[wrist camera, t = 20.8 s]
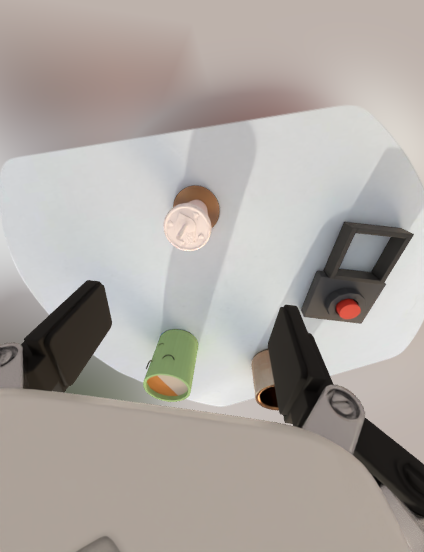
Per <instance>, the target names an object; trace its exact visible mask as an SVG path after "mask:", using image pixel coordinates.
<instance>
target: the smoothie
mask: <svg viewBox="0 0 424 552" xmlns="http://www.w3.org/2000/svg"><path fill="white" fill-rule="evenodd" d="M164 232H165V235H166V237H167V239H168V240H169V242H170V243H171V244H172V245H174V246H175V247H177V248H178V249H181V250H185V251H194V250H197V249H199V248H201V247H202V246H204V245H205V244H206V242H207V241H208V239H209V237H210V234H211V222H210V219H209V217H208V211H207V207H206V205H205V204H204V203H203V202H202V201H200V200H192V201H190V202H188V203H183V204H178V205H177V206H175V207H173V208H172V209H171V210H170V211H169V212H168V214H167V215H166V217H165V220H164Z"/></svg>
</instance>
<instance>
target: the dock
mask: <svg viewBox="0 0 424 552" xmlns="http://www.w3.org/2000/svg"><path fill="white" fill-rule="evenodd" d="M355 233H362V234H371V235H380V236H389V237H391V238H390V240H389V242H388V244H387V246H386V247H385V249H384V251H383V253H382V254H381V256H380V258H379V260H378V261H377V263H376V265H375V267H374V269H373V270H372V272H364V271H355V270H346V269H339V267H340V265H341V263H342V261H343V258H344V256H345V254H346V252H347V250H348V248H349V246H350V243H351V241H352V239H353V237H354V235H355ZM413 235H414V234H412V233H410V232H408V231H406V230H404V229H402V228H395V227H386V226H377V225H368V224H359V223H350V222H344V224H343V226H342V229H341V231H340V233H339V236H338V238H337V240H336V243H335V245H334V247H333V250H332V252H331V254H330V257H329V259H328V262H327V264H326V266H325V269H324V272H325V273H326V274H327V276H328V277H329V278H330V279H338V280H346V281H355V282H364V283H372V284H381V285H383V284H384V282H385V280H386V279H387V277H388V275H389V274H390V272H391V271H392V269H393V267H394V266H395V264H396V263H397V261H398V259H399V258H400V256H401V254H402V253H403V251H404V250H405V248H406V246H407V245H408V243H409V242H410V240H411V238H412V237H413Z"/></svg>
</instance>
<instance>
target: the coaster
mask: <svg viewBox="0 0 424 552" xmlns="http://www.w3.org/2000/svg"><path fill="white" fill-rule="evenodd" d="M192 200H200V201H202V202H203V203H204V204H205V205H206V207H207V211H208V217H209V219H210V222H211V228H212V227H213V226H214V225H215V224H216V222H217V220H218V217H219V203H218V201H217V199H216V197H215V195H214V194H213V193H212V192H211V191H210V190H208V189H207V188H204V187H202V186H189V187H186V188H184V189H183V190H182V191H180V192H179V193H178V195H177V196H176V198H175V200H174V204H173V207H175V206H177V205H178V204H183V203H188V202H190V201H192Z"/></svg>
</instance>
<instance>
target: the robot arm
mask: <svg viewBox="0 0 424 552" xmlns="http://www.w3.org/2000/svg"><path fill="white" fill-rule="evenodd" d="M111 325H112V320H111V315H110V311H109V306H108V302H107V297H106V292H105V288H104V285H102V284H101V283H100V282H99V281H91V280H87V281H86V282H85V283H84V284H83V285H82V286H80V287H79V288H78V289H77V290H76V291H75V292H74V293H73V294H72V295H71V296H70V297H69V298H68V299H66V300H65V301H64V302H63V303H62V304H61V305H60V306H59V307H58V308H57V309H56V310H55V311H53V312H52V313H51V314H50V315H49V316H48V317H47V318H46V319H45V320H44V321H43V322H42V323H41V324H39V325H38V326H37V327H36V328H35V329H34V330H33V331H32V332H31V333H30V334H29V335H28V336H27V337H26V338H24V340H25V341H24V342H23V343H22V344H21V345H20V344H19V343H15V342H13V343H4V344H0V552H424V464H423V463H421V462H420V461H419V460H418V459H417V458H415V457H414V456H413V455H412V454H410V453H409V452H408V451H406V450H405V449H404V448H403V447H401V446H400V445H399V444H398V443H396V442H395V441H394V440H393V439H391V438H390V437H389V436H387V435H386V434H385V433H384V432H382V431H381V430H380V429H379V428H378V427H376V426H375V425H374V424H372V423H371V422H370V421H369V420H368V419H366V418H365V411H364V408H363V406H362V404H361V402H360V401H359V399H358V398H357V397H356V396H355V395H354V394H353V393H352V392H350V391H349V390H347V389H346V388H344V387H342V386H338V385H333V382H332V380H331V378H330V375H329V373H328V370H327V368H326V366H325V363H324V361H323V359H322V356H321V354H320V352H319V349H318V347H317V344H316V342H315V340H314V337H313V336H312V334H310V333H308V332H307V329H306V327H305V324H304V322H303V320H302V317H301V315H300V312H299V310H298V307H297V306H292V305H284V307H281V308H280V310H279V313H278V316H277V318H276V321H275V324H274V327H273V330H272V333H271V336H270V339H269V342H268V351H269V357H270V362H271V368H272V374H273V379H274V385H275V391H276V397H277V402H278V408H279V412H280V414H282V415H283V416H284V421H285V423H291V424H293V426H291V425H286V424H281V423H276V422H270V421H264V420H257V419H251V418H245V417H238V416H232V415H224V414H217V413H210V412H203V411H195V410H189V409H182V408H175V407H167V406H160V405H152V404H145V403H138V402H131V401H123V400H116V399H108V398H100V397H93V396H85V395H77V394H70V393H64V392H65V391H66V389H67V388H68V386H71V385H72V384H73V383H74V382H75V380H76V379H77V377H78V376H79V374H80V373H81V371H82V370H83V368H84V367H85V365H86V364H87V362H88V361H89V359H90V358H91V356H92V355H93V354H94V352H95V351H96V349H97V348H98V346H99V345H100V343H101V342H102V340H103V339H104V337H105V336H106V334H107V333H108V331H109V330H110V328H111ZM52 391H55V392H52ZM61 392H63V393H61Z"/></svg>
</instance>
